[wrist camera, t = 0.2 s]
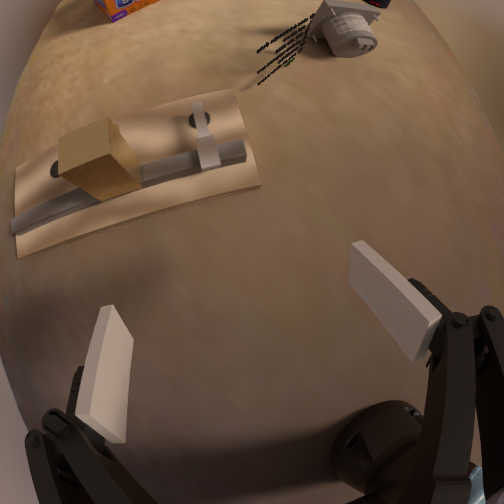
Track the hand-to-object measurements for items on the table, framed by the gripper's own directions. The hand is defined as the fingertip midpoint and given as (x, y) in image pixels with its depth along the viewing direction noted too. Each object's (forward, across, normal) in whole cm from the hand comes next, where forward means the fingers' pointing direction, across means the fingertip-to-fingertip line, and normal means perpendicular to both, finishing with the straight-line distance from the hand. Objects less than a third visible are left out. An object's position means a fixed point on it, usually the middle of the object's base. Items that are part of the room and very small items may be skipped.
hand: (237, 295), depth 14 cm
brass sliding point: (+21, +9, -5) cm, 24 cm away
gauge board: (+23, +11, -5) cm, 26 cm away
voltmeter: (+30, -20, -16) cm, 40 cm away
